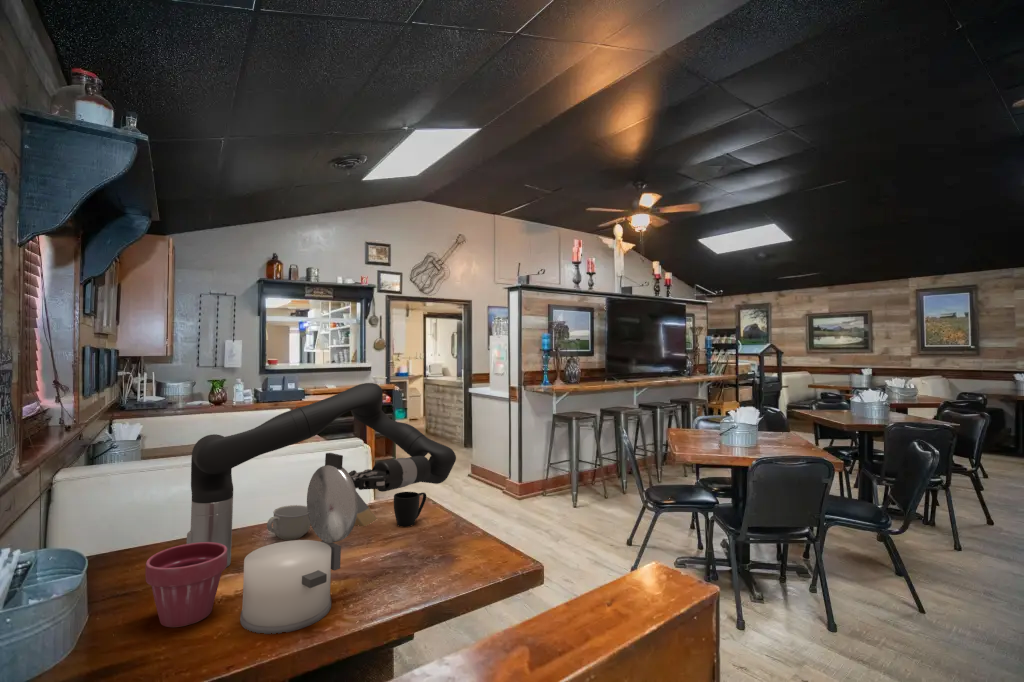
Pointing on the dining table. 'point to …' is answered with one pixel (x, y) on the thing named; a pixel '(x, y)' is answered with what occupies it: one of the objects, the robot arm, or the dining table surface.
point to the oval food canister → (288, 585)
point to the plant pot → (186, 581)
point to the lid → (332, 500)
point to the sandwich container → (363, 513)
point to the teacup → (289, 522)
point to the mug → (407, 507)
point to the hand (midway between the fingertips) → (336, 485)
